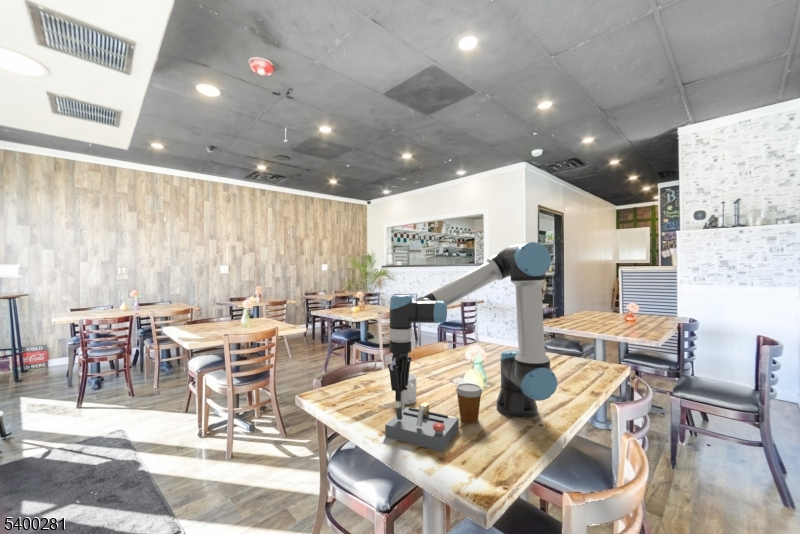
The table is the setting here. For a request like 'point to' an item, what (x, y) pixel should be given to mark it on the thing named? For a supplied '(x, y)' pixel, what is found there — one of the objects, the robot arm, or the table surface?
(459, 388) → the disposable coffee cup
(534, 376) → the robot arm
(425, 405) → the brass slider
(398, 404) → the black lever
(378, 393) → the table surface
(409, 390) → the mug
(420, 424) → the steel lever
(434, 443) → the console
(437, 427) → the red button
